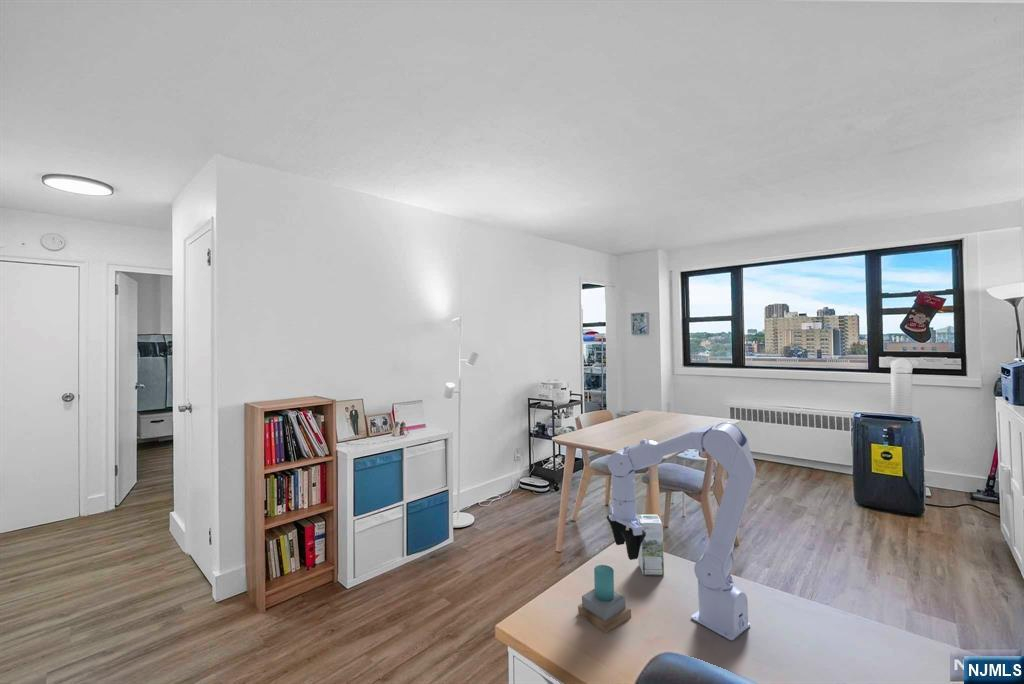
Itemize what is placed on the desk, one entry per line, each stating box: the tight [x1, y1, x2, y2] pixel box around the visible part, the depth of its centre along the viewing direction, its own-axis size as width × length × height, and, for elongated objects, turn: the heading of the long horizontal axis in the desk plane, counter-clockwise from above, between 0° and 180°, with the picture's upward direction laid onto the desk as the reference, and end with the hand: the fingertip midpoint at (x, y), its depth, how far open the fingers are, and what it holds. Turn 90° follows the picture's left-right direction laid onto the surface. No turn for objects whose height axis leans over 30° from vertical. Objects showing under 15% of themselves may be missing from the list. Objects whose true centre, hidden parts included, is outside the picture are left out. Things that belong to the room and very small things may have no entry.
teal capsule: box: [593, 564, 615, 601], centre depth 100 cm, size 4×4×6 cm
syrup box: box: [637, 514, 665, 576], centre depth 118 cm, size 6×6×14 cm
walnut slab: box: [577, 603, 632, 634], centre depth 100 cm, size 8×8×2 cm
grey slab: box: [581, 588, 627, 621], centre depth 100 cm, size 7×7×2 cm
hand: (626, 551), depth 109 cm, fingers open, 7 cm apart
